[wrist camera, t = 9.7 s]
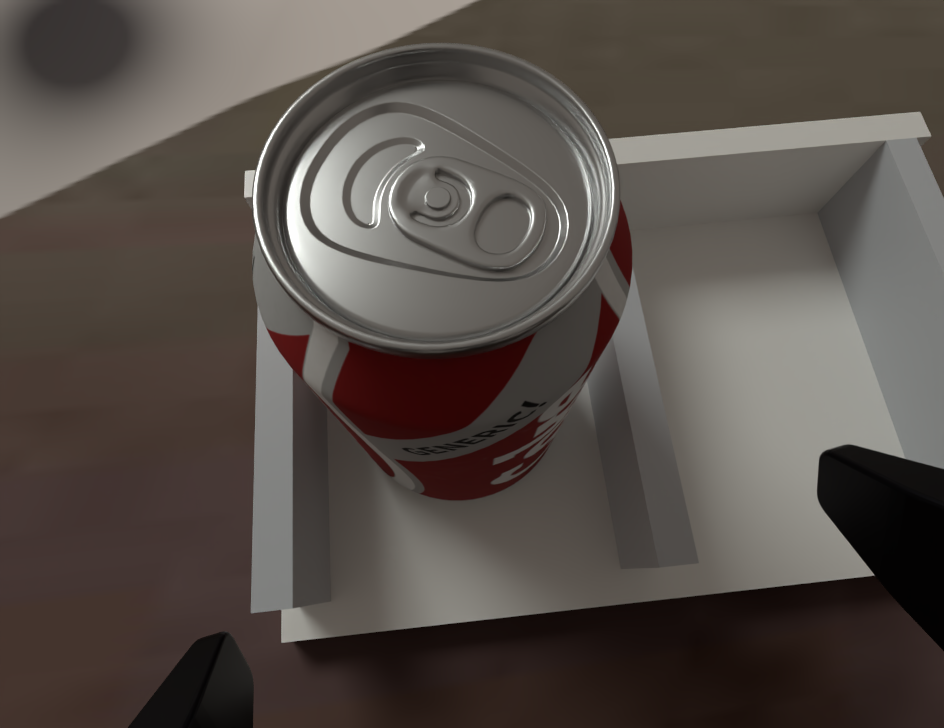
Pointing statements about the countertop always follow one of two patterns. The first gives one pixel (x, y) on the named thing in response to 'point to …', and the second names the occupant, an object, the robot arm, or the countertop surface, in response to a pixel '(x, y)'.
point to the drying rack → (654, 402)
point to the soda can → (442, 258)
